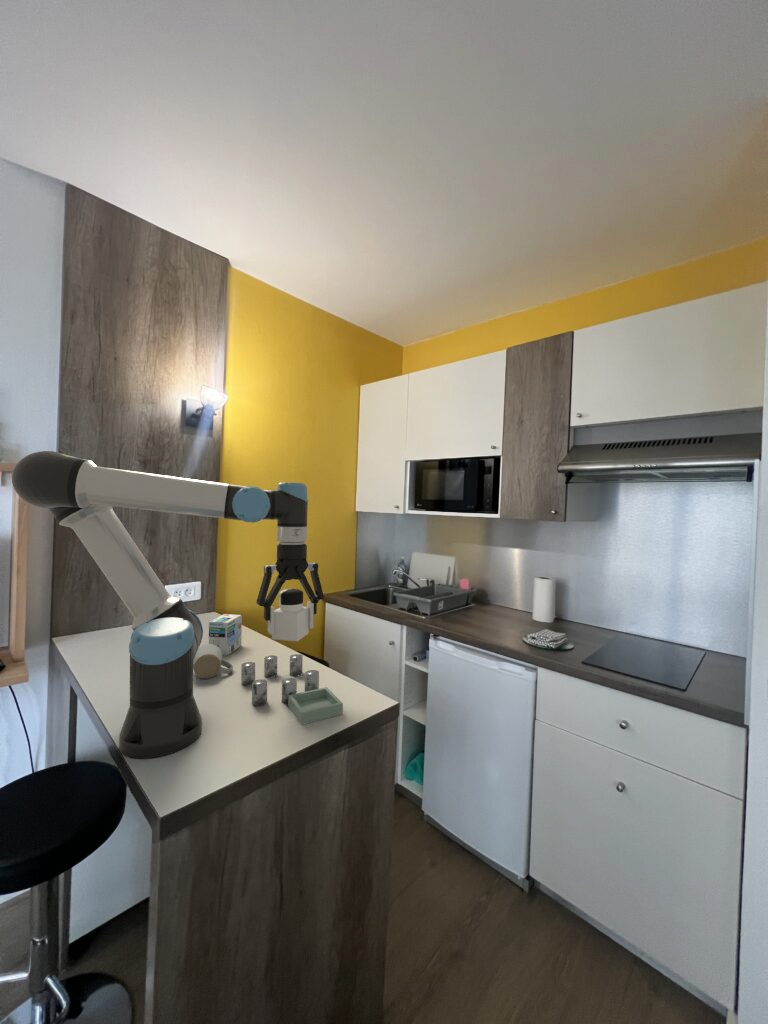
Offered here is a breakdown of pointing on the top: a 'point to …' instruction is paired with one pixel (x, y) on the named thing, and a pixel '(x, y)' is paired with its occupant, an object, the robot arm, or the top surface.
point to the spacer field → (271, 670)
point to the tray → (315, 705)
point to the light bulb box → (226, 632)
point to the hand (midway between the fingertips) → (290, 629)
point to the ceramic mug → (210, 662)
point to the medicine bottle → (291, 616)
